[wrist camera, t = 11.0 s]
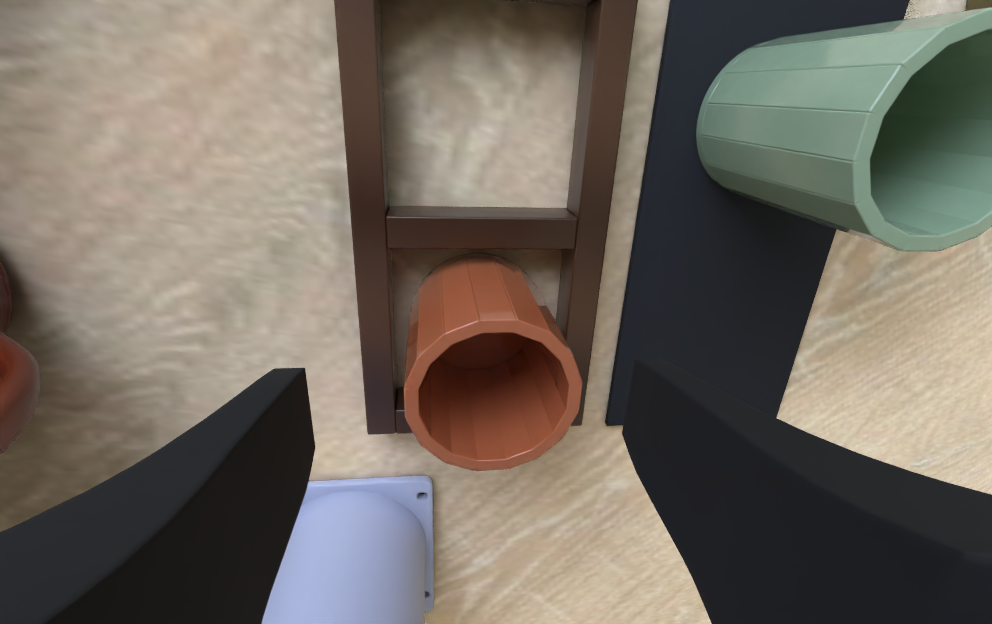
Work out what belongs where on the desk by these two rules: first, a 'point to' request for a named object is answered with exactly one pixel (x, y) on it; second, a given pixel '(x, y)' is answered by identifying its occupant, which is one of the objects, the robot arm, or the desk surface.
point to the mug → (14, 375)
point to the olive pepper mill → (978, 4)
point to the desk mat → (721, 220)
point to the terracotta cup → (487, 366)
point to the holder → (478, 226)
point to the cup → (862, 128)
